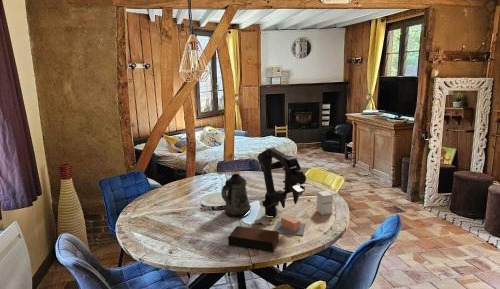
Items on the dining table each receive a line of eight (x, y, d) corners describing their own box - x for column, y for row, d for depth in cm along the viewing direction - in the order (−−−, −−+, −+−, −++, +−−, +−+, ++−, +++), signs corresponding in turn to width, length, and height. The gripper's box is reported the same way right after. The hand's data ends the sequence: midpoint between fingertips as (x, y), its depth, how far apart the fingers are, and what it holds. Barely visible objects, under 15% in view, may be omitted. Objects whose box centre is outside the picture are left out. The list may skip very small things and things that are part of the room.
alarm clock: (278, 241, 175) (278, 231, 174) (273, 253, 164) (273, 242, 163) (236, 235, 182) (236, 225, 181) (228, 246, 171) (228, 235, 170)
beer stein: (253, 208, 217) (253, 171, 211) (245, 221, 198) (244, 181, 193) (229, 206, 221) (228, 169, 216) (219, 218, 203) (217, 179, 197)
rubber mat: (273, 232, 184) (273, 231, 184) (277, 221, 197) (277, 220, 197) (302, 235, 180) (302, 234, 180) (305, 224, 194) (305, 223, 193)
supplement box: (321, 215, 206) (322, 195, 203) (316, 210, 213) (316, 191, 210) (332, 213, 208) (333, 194, 205) (326, 209, 215) (327, 190, 212)
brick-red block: (281, 217, 190) (293, 223, 183) (287, 215, 193) (300, 220, 186) (281, 225, 191) (293, 231, 184) (287, 223, 194) (300, 229, 187)
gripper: (288, 187, 173) (288, 215, 176) (312, 179, 184) (311, 205, 188) (273, 181, 181) (273, 208, 185) (297, 174, 193) (297, 200, 196)
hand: (289, 205), depth 188 cm, fingers open, 9 cm apart
